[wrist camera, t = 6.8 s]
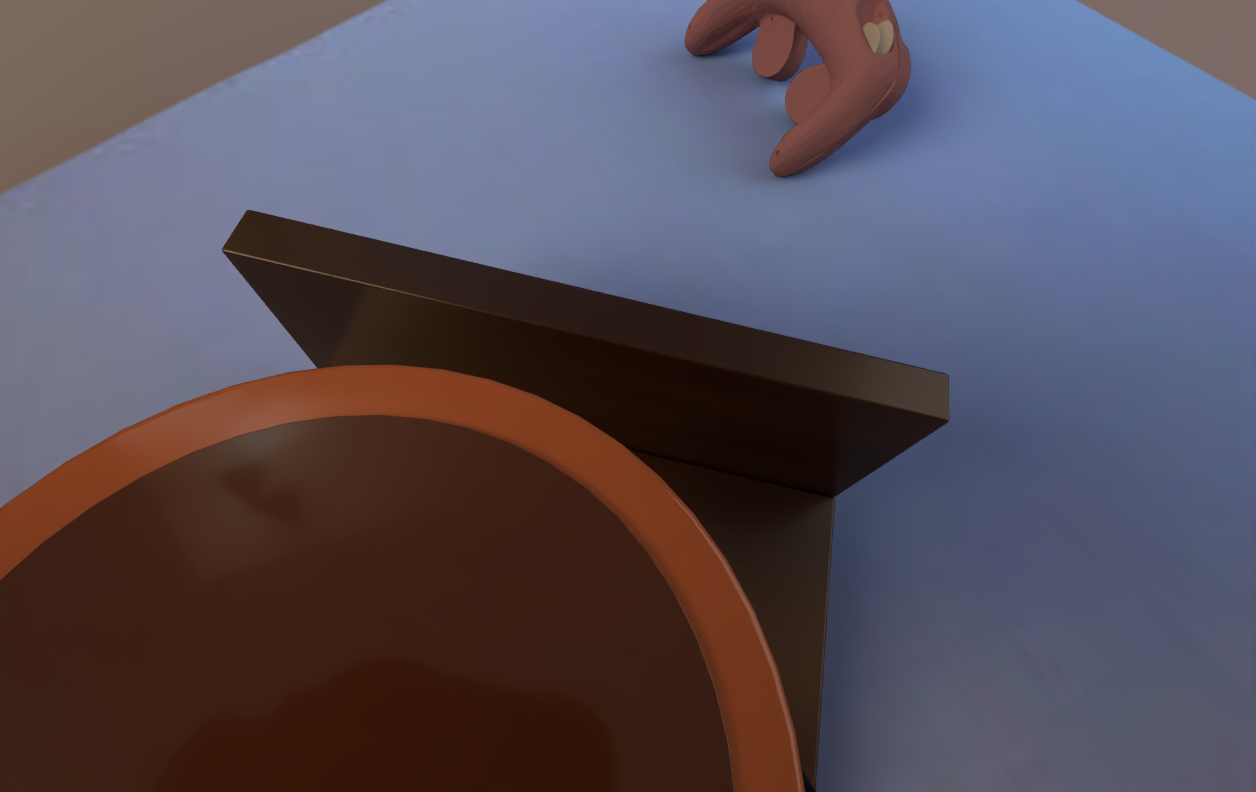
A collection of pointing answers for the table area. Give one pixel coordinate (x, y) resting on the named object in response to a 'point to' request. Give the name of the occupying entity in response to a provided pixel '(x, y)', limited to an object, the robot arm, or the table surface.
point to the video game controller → (822, 94)
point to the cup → (376, 605)
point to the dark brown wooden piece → (631, 400)
